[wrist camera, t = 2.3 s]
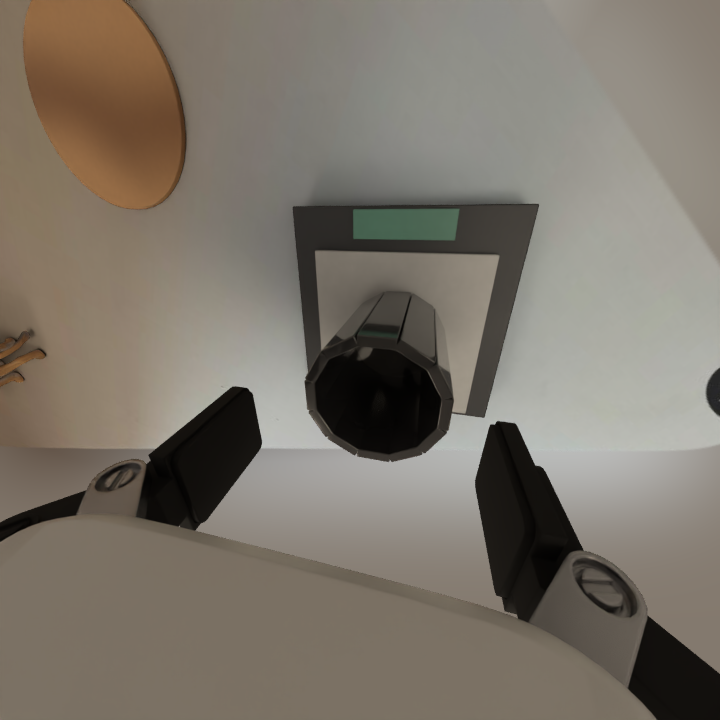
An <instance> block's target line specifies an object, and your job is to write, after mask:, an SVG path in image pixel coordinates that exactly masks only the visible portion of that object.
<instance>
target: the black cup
mask: <svg viewBox="0 0 720 720" xmlns="http://www.w3.org/2000/svg"><path fill="white" fill-rule="evenodd" d="M305 379H306V380H305V390H306V400H307V409H308V410H309V414H310V415H311V417H312V418H313V420H314V421H315V422H316V424H317V425H318V427H319V428H320V430H321V431H322V432H323V434H324V435H325V437H327V436H328V439H329V440H330V441H332V442H334V443H335V444H337V445H338V446H340V447H342V448H343V449H345V450H347V451H348V452H350V453H352V454H353V455H355V454H356V453H357V456H358V457H364V458H370V459H375V460H380V461H387V462H389V460H391V461H392V462H394V461H398V460H402V459H407V458H411V457H415V456H419V455H422V452H423V453H426V452H427V451H428V450H429V449H430V448H431V447H432V446H433V445H435V444H436V443H437V442H438V441H439V440H440V439H441V438H442V437H443V436H444V435H445V434H446V433H447V431H448V430H449V425H450V420H451V415H452V410H453V404H454V395H453V388H452V380H451V373H450V365H449V357H448V350H447V342H446V335H445V328H444V326H443V324H442V322H441V320H440V318H439V315H438V313H437V311H436V309H435V308H434V307H433V306H432V305H431V304H429V303H428V302H426V301H425V300H423V299H421V298H420V297H418V296H417V295H415V294H414V293H412V294H411V292H397V291H386V292H382V293H380V294H378V295H376V296H374V297H372V298H370V299H368V300H367V301H365V302H363V303H362V304H361V305H360V306H359V308H358V309H357V310H356V311H355V312H354V313H353V314H352V316H351V317H350V318H349V319H348V320H347V321H346V323H345V324H344V325H343V326H342V327H341V328H340V330H339V331H338V332H337V333H336V334H335V335H334V336H333V338H332V339H331V340H330V341H329V342H328V343H327V345H326V346H325V347H324V348H323V349H322V350H321V352H320V353H319V354H318V356H317V358H316V360H315V361H314V363H313V365H312V367H311V369H310V370H309V372H308V374H307V376H306V377H305Z"/></svg>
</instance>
